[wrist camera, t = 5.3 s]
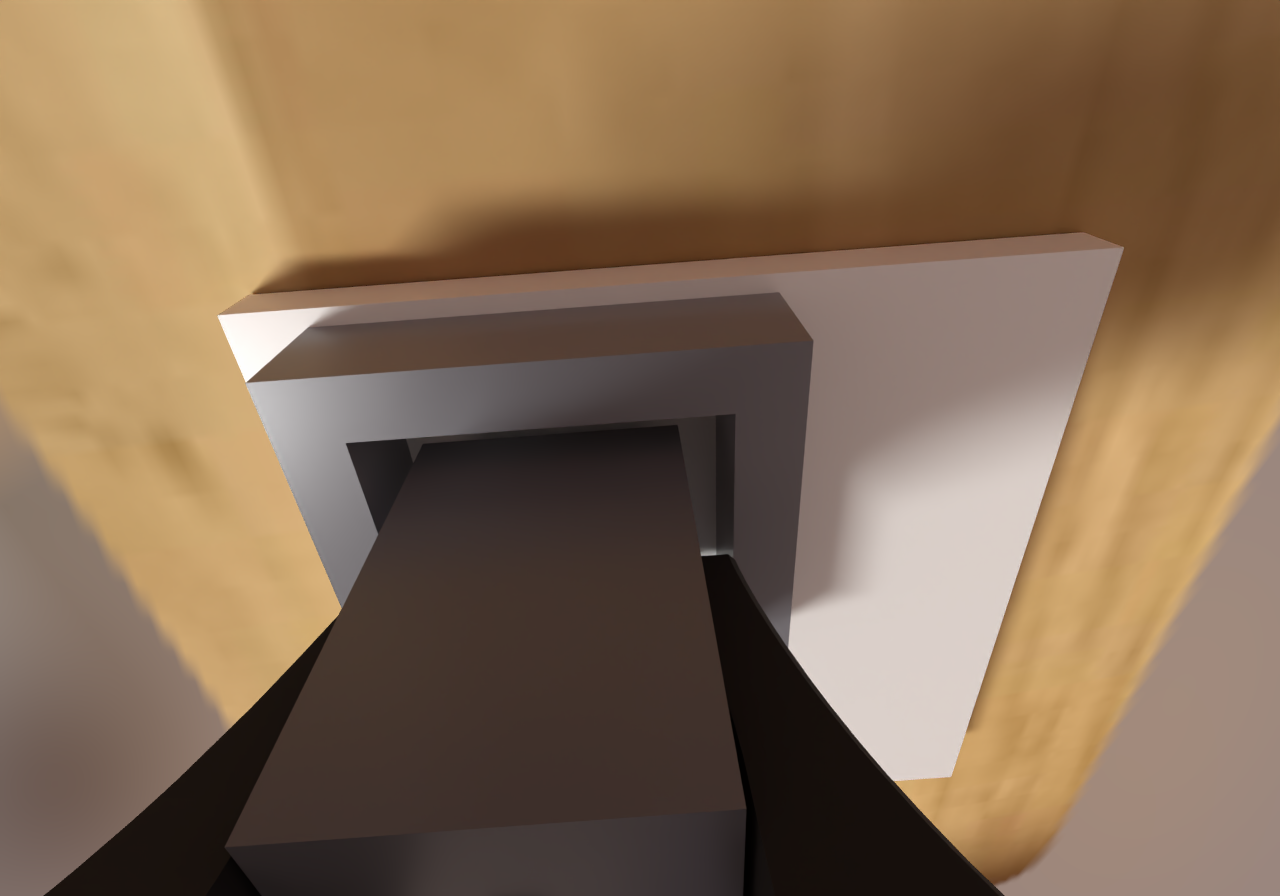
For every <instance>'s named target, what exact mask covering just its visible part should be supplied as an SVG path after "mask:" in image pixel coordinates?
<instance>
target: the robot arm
mask: <svg viewBox="0 0 1280 896" xmlns="http://www.w3.org/2000/svg"><path fill="white" fill-rule="evenodd" d="M701 558H702V563H703V569H704V574H705V580H706V586H707V591H708V597H709V602H710V608H711V613H712V619H713V625H714V630H715V636H716V641H717V647H718V653H719V658H720V664H721V669H722V675H723V681H724V686H725V692H726V697H727V703H728V708H729V714H730V720H731V725H732V731H733V736H734V742H735V748H736V753H737V759H738V764H739V770H740V776H741V781H742V787H743V792H744V798H745V803H746V834H745V858H744V883H743V896H1004V895H1003V894H1002V893H1001V892H1000V891H999V890H998V889H997V888H996V887H995V886H994V885H993V884H992V883H991V882H990V881H989V880H988V879H987V878H986V877H984V876H983V875H982V874H981V873H980V872H979V871H978V870H977V869H976V868H975V867H974V866H973V865H972V864H971V863H970V862H969V861H968V860H967V859H966V858H965V857H964V856H963V855H962V854H961V853H960V852H959V851H958V850H957V849H956V848H955V847H954V846H953V844H952V843H951V842H950V841H949V840H948V839H947V838H946V837H945V836H944V835H943V834H942V833H941V832H940V831H939V830H938V829H937V828H936V827H935V826H934V825H933V824H932V823H931V821H930V820H929V819H928V818H927V817H926V816H925V815H924V814H923V813H922V812H921V811H920V810H919V809H918V808H917V807H916V805H915V804H914V803H913V802H912V801H911V800H910V799H909V798H908V797H907V796H906V794H905V793H904V792H903V791H902V790H901V789H900V788H899V787H898V786H897V785H896V783H895V782H894V781H893V780H892V779H891V778H890V777H889V776H888V775H887V773H886V772H885V771H884V770H883V769H882V768H881V766H880V765H879V764H878V763H877V762H876V761H875V760H874V758H873V757H872V756H871V755H870V754H869V752H868V751H867V750H866V749H865V748H864V747H863V745H862V744H861V743H860V742H859V741H858V739H857V738H856V737H855V736H854V734H853V733H852V732H851V731H850V729H849V728H848V727H847V726H846V724H845V723H844V722H843V721H842V719H841V718H840V717H839V716H838V714H837V713H836V712H835V711H834V709H833V708H832V707H831V706H830V704H829V703H828V702H827V701H826V699H825V698H824V697H823V695H822V694H821V693H820V691H819V690H818V689H817V687H816V686H815V685H814V683H813V682H812V681H811V679H810V678H809V677H808V675H807V674H806V672H805V671H804V670H803V668H802V667H801V665H800V664H799V663H798V661H797V660H796V658H795V657H794V656H793V654H792V653H791V651H790V650H789V648H788V647H787V646H786V644H785V643H784V641H783V640H782V638H781V637H780V635H779V634H778V632H777V631H776V629H775V628H774V626H773V625H772V623H771V622H770V620H769V619H768V617H767V615H766V614H765V612H764V611H763V609H762V607H761V606H760V604H759V603H758V601H757V599H756V598H755V596H754V594H753V593H752V591H751V589H750V587H749V585H748V584H747V582H746V580H745V578H744V576H743V574H742V573H741V571H740V569H739V567H738V565H737V562H736V560H735V559H734V558H732V557H731V556H730V555H728V554H722V555H709V556H701ZM337 617H338V616H337ZM337 617H336V619H335V620H334V621H333V622H332V623H331V624H330V625H329V626H328V627H327V628H326V629H325V630H324V632H323V633H322V634H321V635H320V636H319V637H318V638H317V639H316V640H315V641H314V642H313V643H312V644H311V645H310V647H309V648H308V649H307V650H306V651H305V652H304V653H303V654H302V655H301V656H300V657H299V658H298V659H297V660H296V662H295V663H294V664H293V665H292V666H291V667H290V668H289V669H288V670H287V671H286V672H285V673H284V674H283V675H282V676H281V677H280V678H279V679H278V680H277V681H276V683H275V684H274V685H273V686H272V687H271V688H270V689H269V690H268V691H267V692H266V693H265V694H264V695H263V696H262V697H261V698H260V699H259V700H258V701H257V702H256V703H255V704H254V705H253V707H252V708H251V709H249V710H248V711H247V712H246V713H245V714H244V715H243V716H242V717H241V718H240V719H239V720H238V721H237V722H236V723H235V724H234V725H233V726H232V727H231V728H230V729H229V730H228V731H227V732H226V733H225V734H224V735H223V736H222V737H221V738H220V739H219V740H218V741H217V742H216V743H215V744H214V745H213V746H212V747H211V748H210V749H208V751H206V752H205V753H204V754H203V755H202V756H201V757H200V758H199V759H198V760H197V761H196V762H195V763H194V764H193V765H192V766H191V767H190V768H189V769H188V770H187V771H186V772H185V773H184V774H183V775H182V776H181V777H180V778H179V779H178V780H177V781H176V782H174V783H173V784H172V785H171V786H170V787H169V788H168V789H167V790H166V791H165V792H164V793H162V794H161V795H160V796H159V797H158V798H157V799H156V800H155V801H154V802H153V803H152V804H150V805H149V806H148V807H147V808H146V809H145V810H144V811H143V812H142V813H140V814H139V815H138V816H137V817H136V818H135V819H134V820H133V821H132V822H130V823H129V824H128V825H127V826H126V827H125V828H123V829H122V830H121V831H120V832H119V833H118V834H116V835H115V836H114V837H113V838H112V839H111V840H109V841H108V842H107V843H106V844H105V845H104V846H102V847H101V848H100V849H99V850H98V851H97V852H95V853H94V854H93V855H92V856H91V857H90V858H88V859H87V860H86V861H85V862H84V863H83V864H82V865H80V866H79V867H78V868H77V869H76V870H74V871H73V872H72V873H71V874H70V875H68V876H67V877H66V878H65V879H64V880H62V881H61V882H60V883H59V884H58V885H56V886H55V887H54V888H53V889H51V890H50V891H49V892H48V893H46V894H45V895H44V896H261V894H260V893H259V892H258V890H257V889H256V888H255V886H254V885H253V884H252V882H251V881H250V880H249V879H248V877H247V876H246V875H245V873H244V872H243V871H242V869H241V868H240V867H239V866H238V864H237V863H236V862H235V860H234V859H233V858H232V856H231V855H230V854H229V852H228V851H227V850H226V849H225V845H226V843H227V841H228V839H229V837H230V835H231V833H232V831H233V829H234V827H235V825H236V823H237V821H238V819H239V817H240V815H241V813H242V811H243V809H244V807H245V805H246V803H247V801H248V799H249V797H250V794H251V792H252V790H253V788H254V786H255V784H256V782H257V780H258V778H259V776H260V774H261V772H262V770H263V768H264V766H265V764H266V762H267V760H268V758H269V756H270V754H271V752H272V750H273V748H274V746H275V744H276V742H277V740H278V738H279V735H280V733H281V731H282V729H283V727H284V725H285V723H286V721H287V719H288V717H289V715H290V713H291V711H292V709H293V707H294V705H295V703H296V701H297V699H298V697H299V695H300V693H301V691H302V689H303V687H304V685H305V683H306V681H307V679H308V676H309V674H310V672H311V670H312V668H313V666H314V664H315V662H316V660H317V658H318V656H319V654H320V652H321V650H322V648H323V646H324V644H325V642H326V640H327V638H328V636H329V634H330V632H331V630H332V628H333V626H334V624H335V622H336V620H337Z"/></svg>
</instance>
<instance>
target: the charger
mask: <svg viewBox="0 0 1280 896" xmlns="http://www.w3.org/2000/svg"><path fill="white" fill-rule="evenodd" d="M745 834H746V803H745V798H744V792H743V787H742V781H741V776H740V770H739V764H738V759H737V753H736V748H735V742H734V736H733V731H732V725H731V720H730V714H729V708H728V703H727V697H726V692H725V686H724V681H723V675H722V669H721V664H720V658H719V653H718V647H717V641H716V636H715V630H714V625H713V619H712V613H711V608H710V602H709V597H708V591H707V586H706V580H705V574H704V569H703V563H702V558H701V552H700V546H699V541H698V535H697V530H696V524H695V518H694V513H693V507H692V502H691V496H690V491H689V485H688V479H687V474H686V468H685V463H684V457H683V451H682V446H681V440H680V435H679V429H678V425H668V426H654V427H641V428H627V429H614V430H601V431H587V432H574V433H560V434H547V435H534V436H520V437H507V438H493V439H480V440H467V441H453V442H440V443H426V444H423V445H422V447H421V449H420V451H419V453H418V455H417V457H416V459H415V461H414V463H413V465H412V467H411V469H410V471H409V473H408V475H407V477H406V479H405V481H404V483H403V485H402V487H401V489H400V491H399V493H398V495H397V497H396V499H395V502H394V504H393V506H392V508H391V510H390V512H389V514H388V516H387V518H386V520H385V522H384V524H383V526H382V528H381V530H380V532H379V534H378V536H377V538H376V540H375V542H374V544H373V546H372V548H371V550H370V552H369V554H368V556H367V558H366V561H365V563H364V565H363V567H362V569H361V571H360V573H359V575H358V577H357V579H356V581H355V583H354V585H353V587H352V589H351V591H350V593H349V595H348V597H347V599H346V601H345V603H344V605H343V607H342V609H341V611H340V613H339V615H338V617H337V620H336V622H335V624H334V626H333V628H332V630H331V632H330V634H329V636H328V638H327V640H326V642H325V644H324V646H323V648H322V650H321V652H320V654H319V656H318V658H317V660H316V662H315V664H314V666H313V668H312V670H311V672H310V674H309V676H308V679H307V681H306V683H305V685H304V687H303V689H302V691H301V693H300V695H299V697H298V699H297V701H296V703H295V705H294V707H293V709H292V711H291V713H290V715H289V717H288V719H287V721H286V723H285V725H284V727H283V729H282V731H281V733H280V735H279V738H278V740H277V742H276V744H275V746H274V748H273V750H272V752H271V754H270V756H269V758H268V760H267V762H266V764H265V766H264V768H263V770H262V772H261V774H260V776H259V778H258V780H257V782H256V784H255V786H254V788H253V790H252V792H251V794H250V797H249V799H248V801H247V803H246V805H245V807H244V809H243V811H242V813H241V815H240V817H239V819H238V821H237V823H236V825H235V827H234V829H233V831H232V833H231V835H230V837H229V839H228V841H227V843H226V845H225V849H226V850H227V851H228V852H229V854H230V855H231V856H232V858H233V859H234V860H235V862H236V863H237V864H238V866H239V867H240V868H241V869H242V871H243V872H244V873H245V875H246V876H247V877H248V879H249V880H250V881H251V882H252V884H253V885H254V886H255V888H256V889H257V890H258V892H259V893H260V894H261V896H743V883H744V858H745Z"/></svg>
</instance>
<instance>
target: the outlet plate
mask: <svg viewBox="0 0 1280 896" xmlns="http://www.w3.org/2000/svg"><path fill="white" fill-rule="evenodd" d="M1123 250H1124V247H1122V246H1119V245H1117V244H1114V243H1111V242H1108V241H1106V240H1103V239H1100V238H1098V237H1095V236H1092V235H1090V234H1087V233H1084V232H1079V233H1066V234H1052V235H1039V236H1026V237H1012V238H999V239H986V240H972V241H959V242H946V243H932V244H919V245H906V246H892V247H879V248H866V249H852V250H839V251H826V252H812V253H799V254H786V255H772V256H759V257H746V258H732V259H719V260H706V261H692V262H679V263H666V264H652V265H639V266H626V267H612V268H599V269H586V270H572V271H559V272H546V273H532V274H519V275H506V276H492V277H479V278H466V279H452V280H439V281H426V282H412V283H399V284H386V285H372V286H359V287H346V288H332V289H319V290H306V291H292V292H279V293H265V294H252V295H248V296H246V297H245V298H243V299H241V300H240V301H238V302H237V303H235V304H234V305H232V306H231V307H229V308H228V309H226V310H225V311H223V312H222V313H220V314H219V315H217V316H218V318H219V321H220V323H221V325H222V328H223V330H224V332H225V335H226V337H227V339H228V342H229V344H230V346H231V349H232V351H233V353H234V356H235V358H236V360H237V363H238V365H239V367H240V370H241V372H242V374H243V377H244V379H245V381H246V383H245V384H246V386H247V388H248V391H249V393H250V395H251V398H252V400H253V402H254V405H255V407H256V409H257V412H258V414H259V416H260V419H261V421H262V423H263V426H264V428H265V430H266V433H267V435H268V437H269V440H270V442H271V444H272V447H273V449H274V451H275V454H276V456H277V458H278V461H279V463H280V465H281V468H282V470H283V472H284V475H285V477H286V479H287V482H288V484H289V486H290V489H291V491H292V493H293V496H294V498H295V500H296V503H297V505H298V507H299V510H300V512H301V514H302V517H303V519H304V521H305V524H306V526H307V528H308V531H309V533H310V535H311V538H312V540H313V542H314V545H315V547H316V549H317V552H318V554H319V556H320V559H321V561H322V563H323V566H324V568H325V570H326V573H327V575H328V577H329V580H330V582H331V584H332V587H333V589H334V591H335V594H336V596H337V598H338V601H339V603H340V605H341V608H342V607H343V605H344V603H345V601H346V599H347V597H348V595H349V593H350V591H351V589H352V587H353V585H354V583H355V581H356V579H357V577H358V575H359V573H360V571H361V569H362V567H363V565H364V563H365V561H366V558H367V556H368V554H369V552H370V550H371V548H372V546H373V544H374V542H375V540H376V538H377V536H378V534H379V532H380V530H381V528H382V526H383V524H384V522H385V520H386V518H387V516H388V514H389V512H390V510H391V508H392V506H393V504H394V502H395V499H396V497H397V495H398V493H399V491H400V489H401V487H402V485H403V483H404V481H405V479H406V477H407V475H408V473H409V471H410V469H411V467H412V465H413V463H414V461H415V459H416V457H417V455H418V453H419V451H420V449H421V447H422V445H423V444H426V443H440V442H453V441H467V440H480V439H493V438H507V437H520V436H534V435H547V434H560V433H574V432H587V431H601V430H614V429H627V428H641V427H654V426H668V425H678V429H679V435H680V440H681V446H682V451H683V457H684V463H685V468H686V474H687V479H688V485H689V491H690V496H691V502H692V507H693V513H694V518H695V524H696V530H697V535H698V541H699V546H700V552H701V556H709V555H722V554H728V555H730V556H731V557H732V558H734V559H735V560H736V562H737V565H738V567H739V569H740V571H741V573H742V574H743V576H744V578H745V580H746V582H747V584H748V585H749V587H750V589H751V591H752V593H753V594H754V596H755V598H756V599H757V601H758V603H759V604H760V606H761V607H762V609H763V611H764V612H765V614H766V615H767V617H768V619H769V620H770V622H771V623H772V625H773V626H774V628H775V629H776V631H777V632H778V634H779V635H780V637H781V638H782V640H783V641H784V643H785V644H786V646H787V647H788V648H789V650H790V651H791V653H792V654H793V656H794V657H795V658H796V660H797V661H798V663H799V664H800V665H801V667H802V668H803V670H804V671H805V672H806V674H807V675H808V677H809V678H810V679H811V681H812V682H813V683H814V685H815V686H816V687H817V689H818V690H819V691H820V693H821V694H822V695H823V697H824V698H825V699H826V701H827V702H828V703H829V704H830V706H831V707H832V708H833V709H834V711H835V712H836V713H837V714H838V716H839V717H840V718H841V719H842V721H843V722H844V723H845V724H846V726H847V727H848V728H849V729H850V731H851V732H852V733H853V734H854V736H855V737H856V738H857V739H858V741H859V742H860V743H861V744H862V745H863V747H864V748H865V749H866V750H867V751H868V752H869V754H870V755H871V756H872V757H873V758H874V760H875V761H876V762H877V763H878V764H879V765H880V766H881V768H882V769H883V770H884V771H885V772H886V773H887V775H888V776H889V777H890V778H891V779H892V780H893V781H900V780H914V779H927V778H941V777H951V776H952V773H953V770H954V767H955V763H956V760H957V757H958V754H959V751H960V748H961V745H962V742H963V739H964V736H965V733H966V730H967V727H968V724H969V721H970V718H971V715H972V711H973V708H974V705H975V702H976V699H977V696H978V693H979V690H980V687H981V684H982V681H983V678H984V675H985V672H986V669H987V666H988V663H989V659H990V656H991V653H992V650H993V647H994V644H995V641H996V638H997V635H998V632H999V629H1000V626H1001V623H1002V620H1003V617H1004V614H1005V611H1006V607H1007V604H1008V601H1009V598H1010V595H1011V592H1012V589H1013V586H1014V583H1015V580H1016V577H1017V574H1018V571H1019V568H1020V565H1021V562H1022V559H1023V556H1024V552H1025V549H1026V546H1027V543H1028V540H1029V537H1030V534H1031V531H1032V528H1033V525H1034V522H1035V519H1036V516H1037V513H1038V510H1039V507H1040V504H1041V500H1042V497H1043V494H1044V491H1045V488H1046V485H1047V482H1048V479H1049V476H1050V473H1051V470H1052V467H1053V464H1054V461H1055V458H1056V455H1057V452H1058V448H1059V445H1060V442H1061V439H1062V436H1063V433H1064V430H1065V427H1066V424H1067V421H1068V418H1069V415H1070V412H1071V409H1072V406H1073V403H1074V400H1075V397H1076V393H1077V390H1078V387H1079V384H1080V381H1081V378H1082V375H1083V372H1084V369H1085V366H1086V363H1087V360H1088V357H1089V354H1090V351H1091V348H1092V345H1093V341H1094V338H1095V335H1096V332H1097V329H1098V326H1099V323H1100V320H1101V317H1102V314H1103V311H1104V308H1105V305H1106V302H1107V299H1108V296H1109V293H1110V289H1111V286H1112V283H1113V280H1114V277H1115V274H1116V271H1117V268H1118V265H1119V262H1120V259H1121V256H1122V253H1123Z"/></svg>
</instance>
